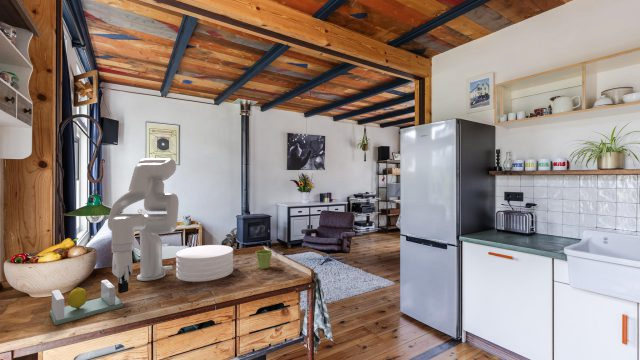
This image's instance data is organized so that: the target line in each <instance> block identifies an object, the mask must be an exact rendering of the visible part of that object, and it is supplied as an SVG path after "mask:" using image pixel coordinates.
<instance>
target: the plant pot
mask: <svg viewBox="0 0 640 360" xmlns="http://www.w3.org/2000/svg"><path fill="white" fill-rule="evenodd" d="M272 253H273V250H270V249H263V250H257V251H255V253H254V254H255V256H256V260H257V267H258V268H259V269H261V270H264V269H266V270H267V269H269V268H270V266H271V258H272V255H273V254H272Z"/></svg>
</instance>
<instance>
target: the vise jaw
mask: <svg viewBox="0 0 640 360" xmlns="http://www.w3.org/2000/svg"><path fill="white" fill-rule="evenodd" d="M115 296H116V286H115V285H114V284H112V282H110V281H109V280H108V279H103V280H100V298H103V300H104V301H105V302H106V303H107V304H108V305H109V306H110V305H113V304H115Z"/></svg>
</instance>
